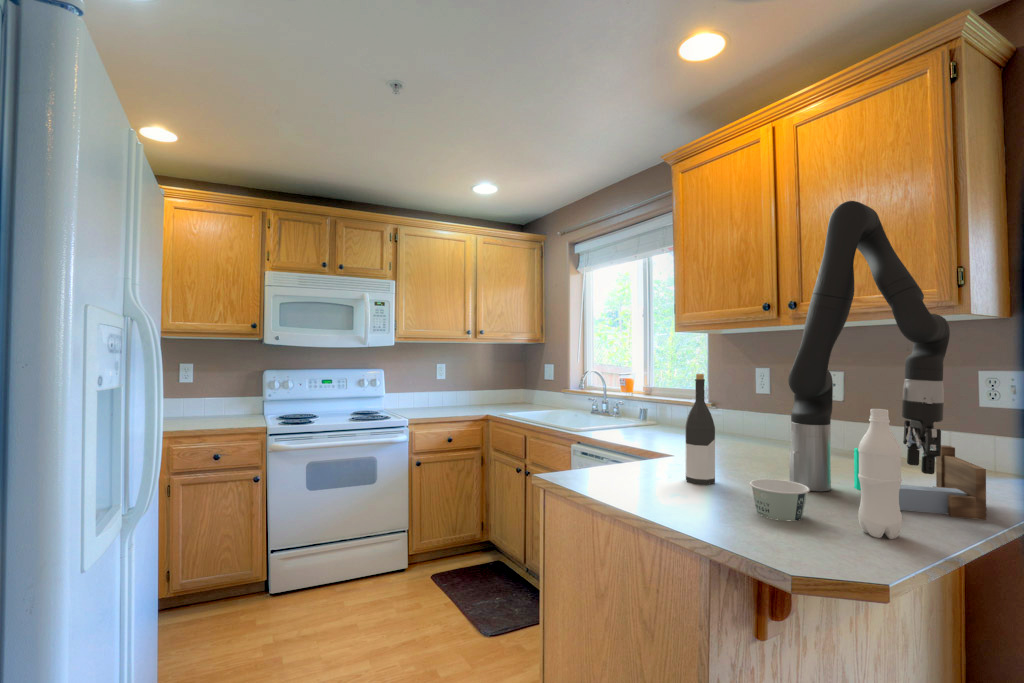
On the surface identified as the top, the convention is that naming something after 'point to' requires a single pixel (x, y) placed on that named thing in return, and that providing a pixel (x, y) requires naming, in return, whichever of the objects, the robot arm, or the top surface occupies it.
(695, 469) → the wine bottle
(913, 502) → the light blue rectangular bar
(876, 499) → the water bottle
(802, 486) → the food container
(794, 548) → the top surface
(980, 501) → the wooden holder stand
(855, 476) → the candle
